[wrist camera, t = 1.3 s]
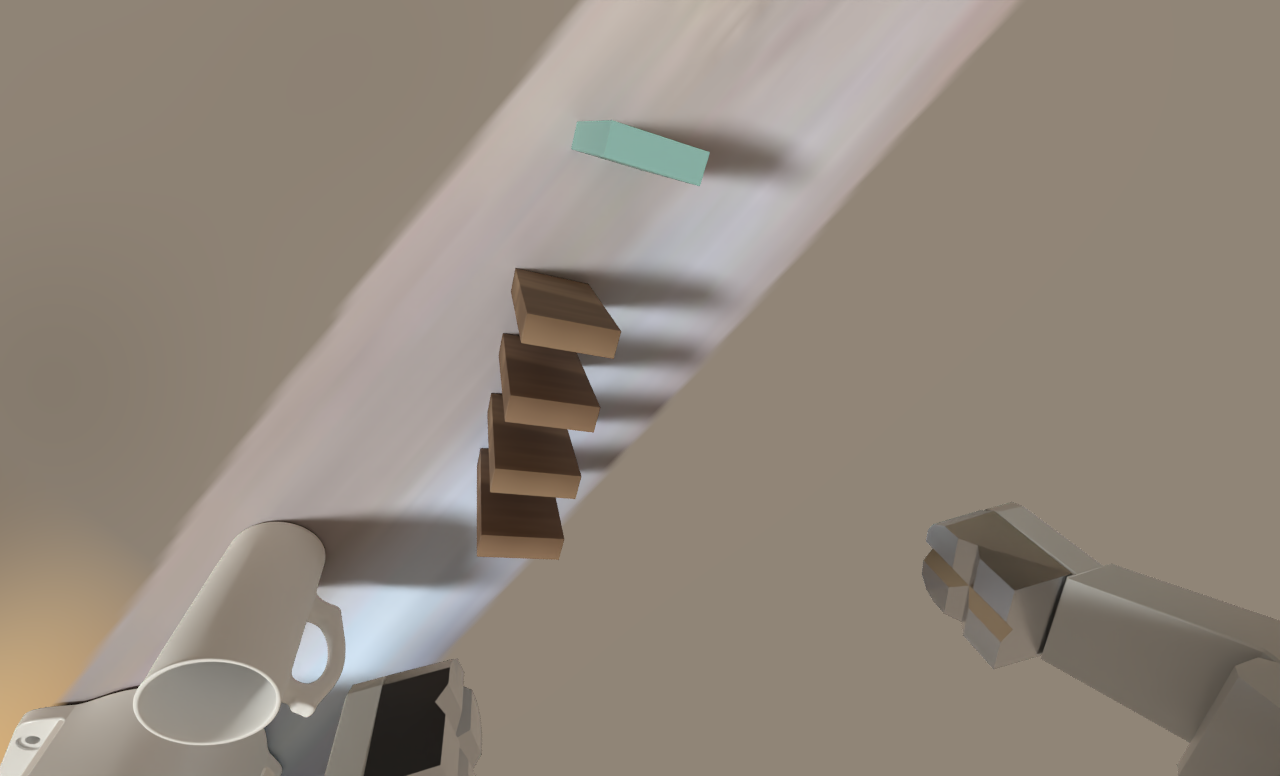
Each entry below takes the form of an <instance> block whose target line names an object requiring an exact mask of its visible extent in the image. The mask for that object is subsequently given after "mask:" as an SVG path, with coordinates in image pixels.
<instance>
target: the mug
mask: <svg viewBox="0 0 1280 776" xmlns="http://www.w3.org/2000/svg"><path fill="white" fill-rule="evenodd" d="M325 557H326V556H325V549H324V546H323V544H322V542H321V541H320V540H319V538H318V537H317V536H316V535H315V534H313V533H312V532H311V531H309V530H307V529H306V528H304V527H301V526H299V525H296V524H292V523H287V522H266V523H261V524H257V525H254V526H252V527H249V528H247V529H245V530H244V531H242V532H241V533H240V534H239V535H237V536H236V537H235V538H234V540H233V541H232V542H231V544H230V545H229V547H228V549H227V550H226V552H225V553H224V555H223V556H222V558H221V559H220V561H219V562H218V564H217V565H216V567H215V568H214V570H213V571H212V573H211V574H210V576H209V578H208V579H207V581H206V582H205V584H204V586H203V587H202V589H201V590H200V592H199V593H198V595H197V597H196V598H195V600H194V601H193V603H192V604H191V606H190V608H189V609H188V611H187V612H186V614H185V615H184V617H183V619H182V620H181V622H180V623H179V625H178V626H177V628H176V629H175V631H174V633H173V634H172V636H171V637H170V639H169V640H168V642H167V644H166V645H165V647H164V648H163V650H162V651H161V653H160V655H159V656H158V658H157V659H156V661H155V663H154V664H153V666H152V668H151V670H150V671H149V673H148V675H147V677H146V678H145V680H144V681H143V682H142V683H141V684H140V686H139V687H138V689H137V691H136V693H135V695H134V699H133V710H134V713H135V715H136V717H137V719H138V721H139V722H140V723H141V724H142V725H143V726H144V727H145V728H146V729H147V730H149V731H150V732H152V733H153V734H155V735H157V736H159V737H161V738H164V739H166V740H169V741H173V742H177V743H182V744H189V745H216V744H224V743H229V742H233V741H237V740H240V739H243V738H246V737H248V736H250V735H252V734H254V733H256V732H258V731H260V730H261V729H263V728H264V727H266V726H267V725H268V724H269V723H270V722H271V721H272V720H273V719H274V718H275V716H276V715H277V713H278V711H279V709H280V706H281V703H285V704H287V705H289V707H290V709H291V711H292V712H294V713H297V714H299V715H301V716H303V717H309V716H311V715H312V714H313V713H314V711H315V710H316V707H317V705H318V704H319V703H320V702H321V701H322V699H323V698H324V697H325V696H326V695H327V694H328V693H329V692H330V690H331V689H332V688H333V687H334V685H335V684H336V682H337V681H338V679H339V677H340V675H341V673H342V670H343V666H344V661H345V637H344V630H343V623H342V616H341V610H340V608H339V607H337V606H335V605H332V604H330V603H327V602H325V601H324V600H322V599H321V598H320V597H319V596H318V595H317V588H318V584H319V580H320V577H321V574H322V570H323V567H324V564H325ZM306 622H310V623H312V624H315V625H316V626H318V627H319V628H320V629H321V631H322V632H323V634H324V636H325V638H326V641H327V646H328V659H327V665H326V668H325V670H324V672H323V674H322V675H321V677H320V678H319V679H318V680H316V681H314V682H312V683H309V684H308V683H301V682H299V681H297V680H295V679H294V678H293V676H292V667H293V664H294V661H295V657H296V654H297V651H298V648H299V645H300V641H301V638H302V635H303V632H304V629H305V625H306Z"/></svg>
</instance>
